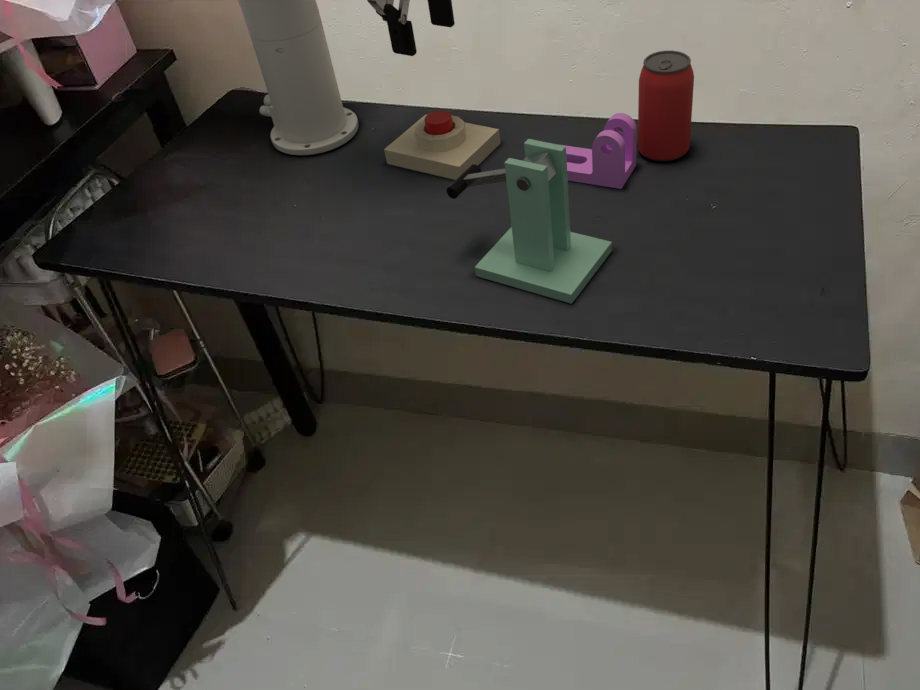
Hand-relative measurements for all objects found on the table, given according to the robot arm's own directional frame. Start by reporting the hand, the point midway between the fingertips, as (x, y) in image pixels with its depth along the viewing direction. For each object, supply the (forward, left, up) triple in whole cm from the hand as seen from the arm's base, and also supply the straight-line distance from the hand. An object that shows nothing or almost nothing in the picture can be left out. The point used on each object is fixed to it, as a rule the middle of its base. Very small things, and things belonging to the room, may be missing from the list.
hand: (424, 38), depth 102 cm
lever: (+20, -16, -7) cm, 26 cm away
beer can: (+27, +11, -16) cm, 33 cm away
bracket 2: (+19, +3, -16) cm, 25 cm away
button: (0, 0, -12) cm, 12 cm away
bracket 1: (+24, -16, -16) cm, 33 cm away
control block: (0, 0, -16) cm, 16 cm away
